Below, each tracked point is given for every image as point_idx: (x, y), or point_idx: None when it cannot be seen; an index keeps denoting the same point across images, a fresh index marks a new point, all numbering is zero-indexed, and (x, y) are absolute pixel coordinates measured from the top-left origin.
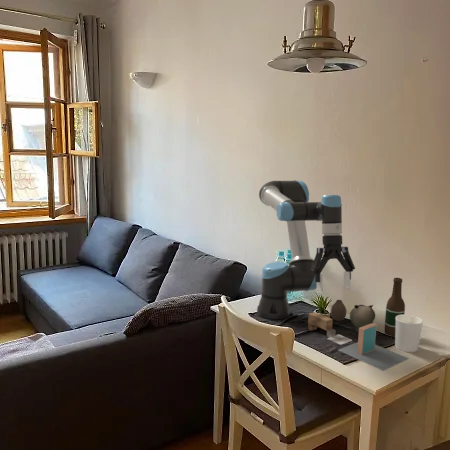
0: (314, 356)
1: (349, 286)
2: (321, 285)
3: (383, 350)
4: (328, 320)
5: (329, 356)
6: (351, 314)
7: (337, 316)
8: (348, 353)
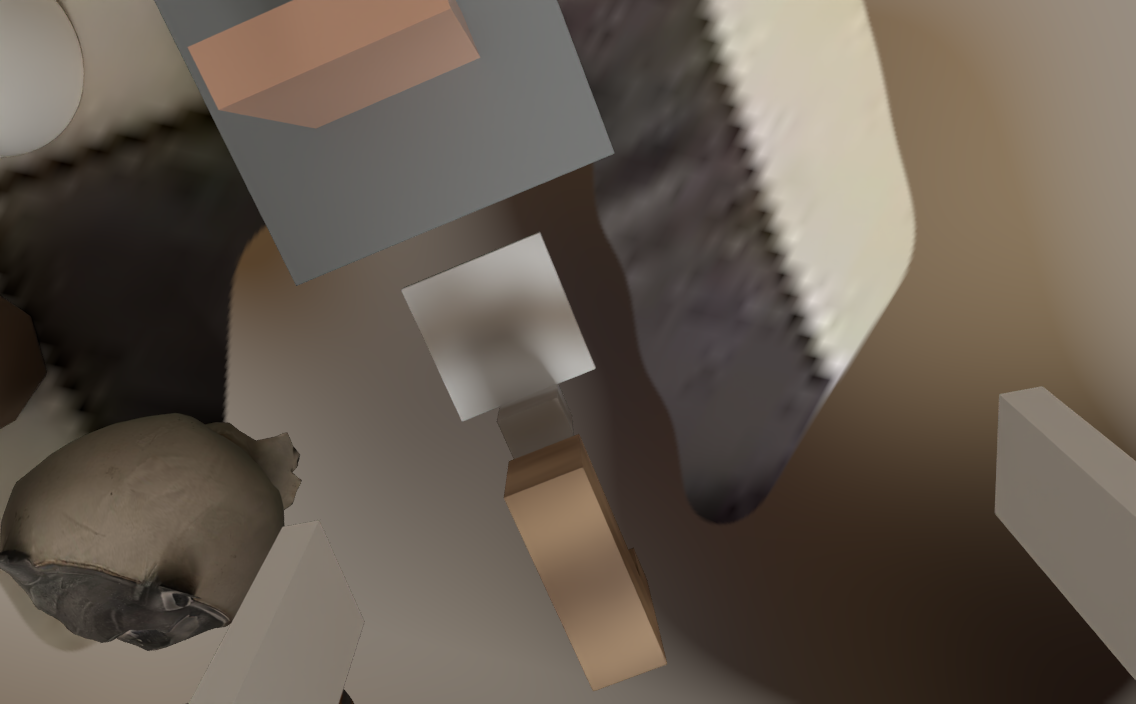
0: (843, 111)
1: (286, 550)
2: (1115, 456)
3: None
4: (561, 479)
5: (726, 80)
6: (265, 552)
7: None
8: (558, 68)
